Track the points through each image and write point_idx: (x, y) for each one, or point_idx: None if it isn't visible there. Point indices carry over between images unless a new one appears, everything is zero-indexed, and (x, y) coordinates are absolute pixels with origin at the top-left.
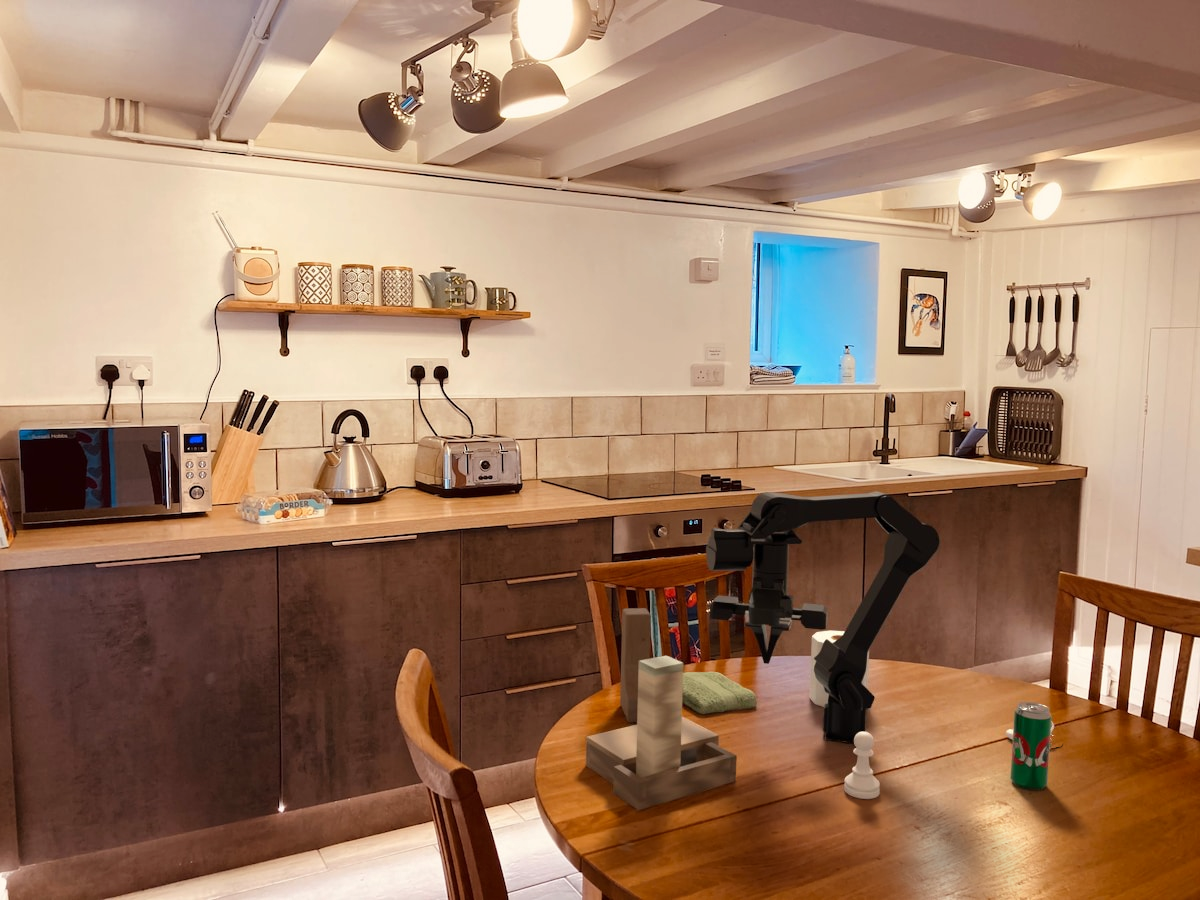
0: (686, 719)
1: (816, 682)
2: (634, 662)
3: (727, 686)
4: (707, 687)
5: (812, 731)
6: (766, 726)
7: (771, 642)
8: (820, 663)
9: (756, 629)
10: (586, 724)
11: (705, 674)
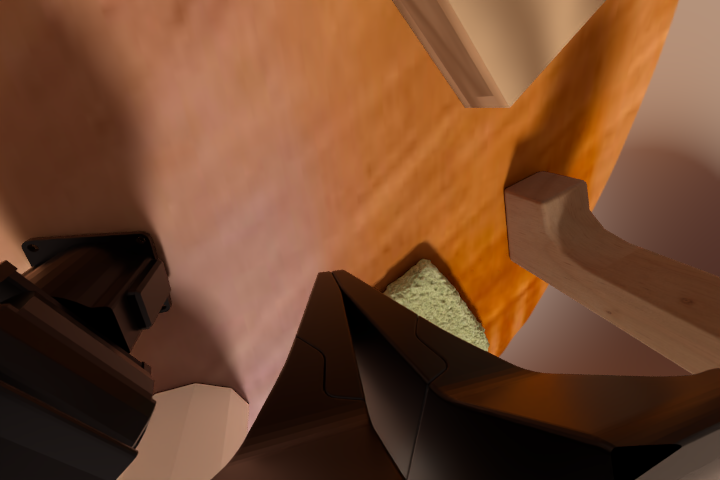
0: (496, 74)
1: (224, 431)
2: (630, 258)
3: None
4: None
5: (198, 269)
6: (302, 255)
7: (330, 351)
8: (63, 420)
9: (575, 393)
10: (600, 141)
11: None
